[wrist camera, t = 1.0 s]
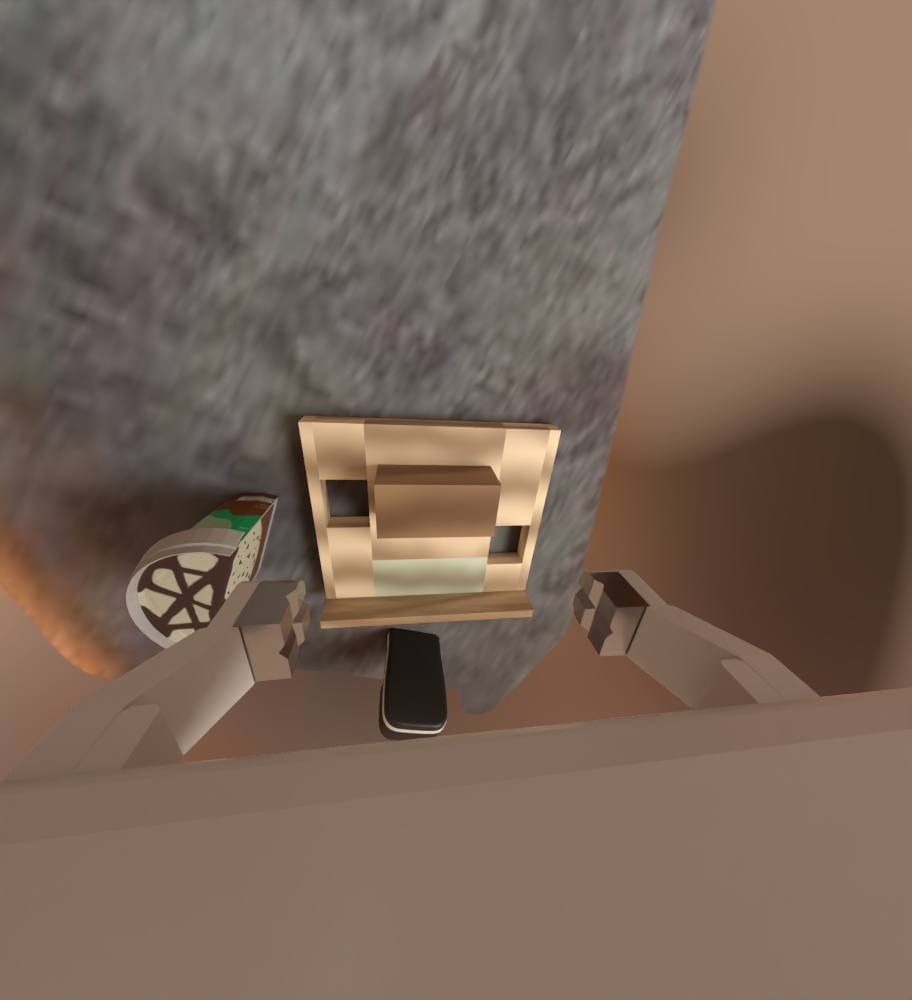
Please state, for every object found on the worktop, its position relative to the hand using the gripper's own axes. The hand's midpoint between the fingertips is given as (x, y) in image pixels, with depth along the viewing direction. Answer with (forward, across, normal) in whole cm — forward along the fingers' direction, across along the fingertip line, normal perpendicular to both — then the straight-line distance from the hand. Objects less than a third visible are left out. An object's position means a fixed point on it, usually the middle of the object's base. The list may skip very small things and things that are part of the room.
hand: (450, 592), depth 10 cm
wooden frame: (+22, -1, +10) cm, 24 cm away
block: (+20, -1, +6) cm, 21 cm away
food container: (+23, +18, +11) cm, 31 cm away
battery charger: (+24, +1, +28) cm, 37 cm away
